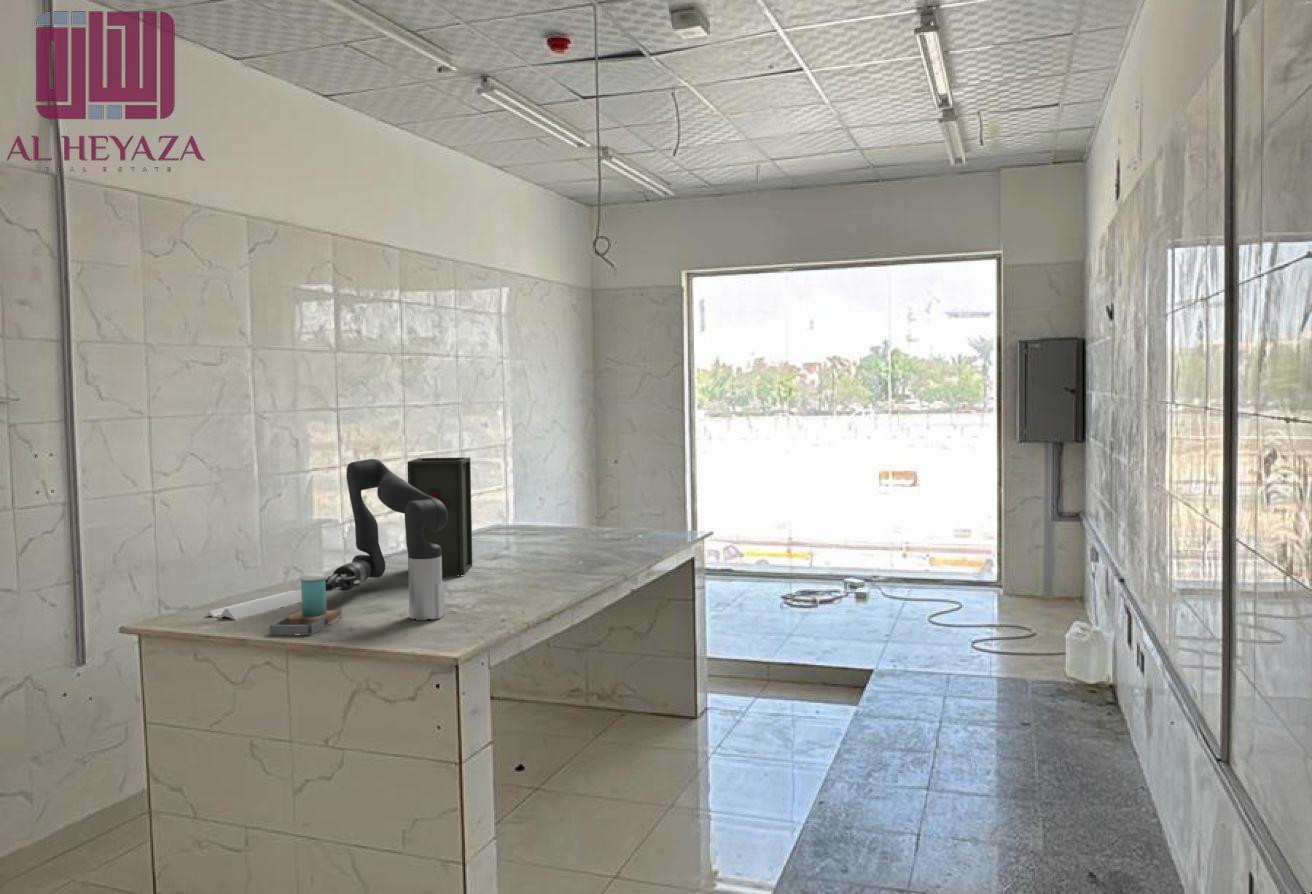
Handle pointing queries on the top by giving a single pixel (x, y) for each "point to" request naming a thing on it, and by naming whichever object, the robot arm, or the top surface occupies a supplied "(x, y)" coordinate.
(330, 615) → the light tan wooden board
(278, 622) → the tray
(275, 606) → the crown molding
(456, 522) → the first aid box
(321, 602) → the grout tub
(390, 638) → the top surface
